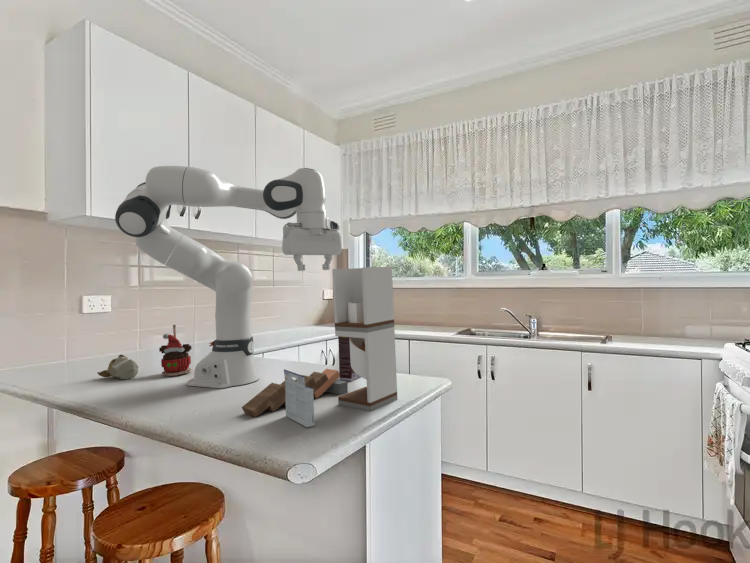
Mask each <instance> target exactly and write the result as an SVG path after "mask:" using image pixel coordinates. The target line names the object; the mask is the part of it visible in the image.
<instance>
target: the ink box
mask: <svg viewBox="0 0 750 563" xmlns="http://www.w3.org/2000/svg"><path fill="white" fill-rule="evenodd" d="M283 373H284V381H285V386H286V406H285V416H286V417H287V418H289V419H291V420H292V421H295V422H296V423H298V424H299V425H302V426H303V427H305V428H307V429H309V428H311V427H315V405H314V404H315V402H314V399H315V398H314V396H313V389H312V388H309V387H307V386H305V376H306V375H305V376H302V375H303V374H298V373H296V372H293V371H289V370H287V369H285V368H284V369H283ZM293 378H294V379H293ZM296 379H297V381H295V380H296Z"/></svg>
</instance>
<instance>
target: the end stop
mask: <svg viewBox="0 0 750 563" xmlns="http://www.w3.org/2000/svg"><path fill="white" fill-rule="evenodd" d="M348 388H349V387H348V381H343V380H340V379H337V380H336V381H335V382H334V383H333V384H332V385H331V386H330V387H329V388H328V389H327V390H326V391H324V393H325V392H326V393H330V394H335V395H339V396H342V395H344V394H347V393H349V391H348Z"/></svg>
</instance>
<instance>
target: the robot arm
mask: <svg viewBox="0 0 750 563" xmlns="http://www.w3.org/2000/svg"><path fill="white" fill-rule="evenodd" d="M325 185H326V184H325V180H324V176H323V174H322V173H321V172H319V171H318V170H316V169H313V168H310V167H309V168H308V167H302V168H301V167H300V168H298V169H296V170H295V171H294V172H293V173H291V174H289V175H287V176H284V177H282V178H278V179H273V180H271V181H269V182H268V183H267V184H266V185H265V186H264V188H263V189H260V188H259V189H258V188H252V187H245V186H240V185H236V184H234V183H231V182H229V181H228V180H226V179H224V178H223V177H221V176H220V175H218V174H217V173H214V172H212V171H210V170H206V169H202V168H198V167H191V166H183V165H160V166H154V167H152V168H150V169H149V170H148V172H147V174H146V176H145V181H144V182H141V183H140V184H138V185H137V186H136V187H135V188H134V189H133V190H131V191H130V192H129V193H128V194H127V195H126V197H125V198H124V200H123V201H122V202H121V203H120V204H119V205H118V207H117V209H116V211H115V215H114V221H115V224H116V226H117V227H118V229H119V230H121V232H122V233H123V234H125V235H127V236H130V237H133V238H135V245H136V247H137V248H138V249H139V250H140V251H142V252H143V253H144V254H146V255H147V256H149V257H150V258H151V259H153V260H155V261H157V262H158V263H160V264H163V265H164V266H166V267H168V268H170V269H172V270H174V271H175V272H177V273H180V274H181V275H184V276H186V277H188V278H190V279H191V280H192V281H193V280H194V281H196V282H198V283H199V284H201V285H203V286H205V287H207V288H208V289H211V290H212V291H213V292H214V291H215V312H214V313H215V315H214V319H215V336H216V339H214V340H213V341H212V342H208V344H209V345H208V346H209V347H212V348H211V351H210V352H208V354H207V355H206V356H205V357H203V358H202V359H201V360H200V361H199V362H198V363H196V366H195V367H194V375H193V376H194V377H193V378H191V379H189V380H188V381H187V382H186V385H187V386H190V387H202V388H212V389H224V388H229V387H235V386H242V385H248V384H250V383H253V382H256V381H258V380H259V379H260V378H259V375H258V372H257V368H256V364H255V359H254V350H255V348H254V337H253V336H252V320H251V319H252V318H251V317H252V316H251V314H252V313H251V312H252V311H251V310H252V295H253V294H252V293H253V274H252V272H251V270H250V269H249V268H248V266H246V265H245V264H243V263H242V262H239V261H230V260H228V259H227V258H225V257H223V256H222V255H220V254H218V253H217V252H215V251H214V250H212V249H211V248H209V247H208V246H206V245H204V244H202V243H200V242H198V241H197V240H195V239H193V238H191V237H190V236H187V235H185V234H184V233H182V232H180V231H178V230H176V229H175V228H173V227H171V226H170V225H169V224H168V222H167V220H168V219H169V218H170V215H171V210H172V209H171V208H172V206H173V205H176V206H185V207H193V208H194V207H196V208H198V207H199V208H208V207H209V208H212V207H215V208H218V207H235V208H243V209H251V210H256V211H257V210H258V211H263V212H266V213H269V214H270V215H271V216H274V218H278V219H280V220H287V219H290V218H292V217H294V216H295V215H296V222H290V221H289V222H287V223H285V224H284V226H283V228H282V234H283V235H282V242H281V243H282V246H281V251H282V253H283V255H285V256H293V260H294V262H295V264H296V265H297V271H298V272H304V271H306V264H303V261H302V258H303V256H323V258H324V259H325V260H324V263H323V264H322V265H321V266H322V267H321V269H322V271H329V270H330V268H331V266H330V264H331V262H332V260H333V256H339V255H340V254H341V253H342V249H343V246H342V236H341V233H340V232H339V231H340V229H341V225H340V223H339V222H337V221H334V220H333V219H331V218H330V217H328V216H327V211H326V206H325V205H326V199H327V198H326V195H327V194H326V186H325Z"/></svg>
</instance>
